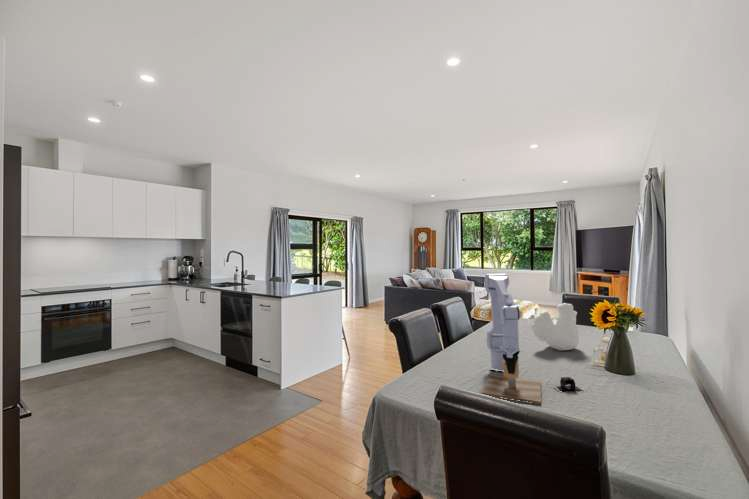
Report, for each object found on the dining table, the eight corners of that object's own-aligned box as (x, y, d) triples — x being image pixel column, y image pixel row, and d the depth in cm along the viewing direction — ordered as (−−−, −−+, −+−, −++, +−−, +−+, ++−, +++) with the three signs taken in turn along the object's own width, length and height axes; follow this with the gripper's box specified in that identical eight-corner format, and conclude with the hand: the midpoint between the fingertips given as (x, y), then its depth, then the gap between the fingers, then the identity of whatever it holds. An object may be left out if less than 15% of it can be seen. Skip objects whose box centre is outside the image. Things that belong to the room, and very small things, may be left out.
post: (509, 385, 132) (508, 372, 133) (516, 386, 131) (515, 373, 131) (508, 387, 130) (508, 375, 130) (515, 388, 129) (515, 376, 129)
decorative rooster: (572, 344, 188) (571, 300, 188) (586, 353, 173) (584, 305, 173) (526, 344, 192) (524, 301, 192) (535, 352, 176) (533, 305, 177)
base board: (489, 377, 144) (489, 374, 144) (540, 384, 135) (540, 381, 135) (482, 395, 126) (482, 392, 126) (541, 405, 117) (540, 401, 117)
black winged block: (557, 394, 127) (556, 382, 127) (547, 386, 134) (546, 375, 134) (589, 393, 127) (589, 381, 127) (577, 385, 134) (577, 374, 134)
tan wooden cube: (505, 372, 134) (504, 358, 134) (519, 373, 132) (518, 359, 132) (503, 376, 130) (503, 362, 130) (518, 378, 127) (517, 363, 127)
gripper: (501, 331, 139) (502, 363, 139) (497, 339, 126) (499, 375, 126) (520, 332, 136) (521, 365, 136) (518, 341, 123) (519, 378, 123)
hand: (511, 370), depth 131 cm, fingers closed on tan wooden cube, 5 cm apart
